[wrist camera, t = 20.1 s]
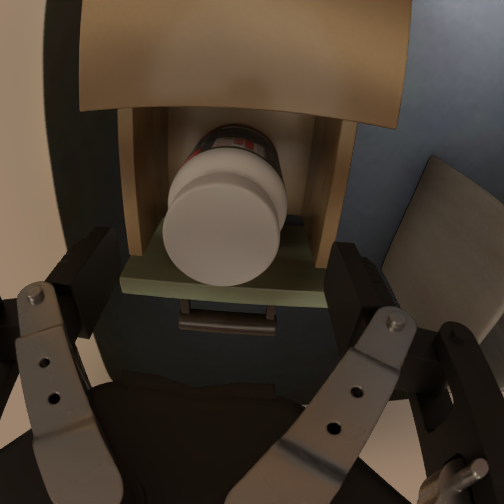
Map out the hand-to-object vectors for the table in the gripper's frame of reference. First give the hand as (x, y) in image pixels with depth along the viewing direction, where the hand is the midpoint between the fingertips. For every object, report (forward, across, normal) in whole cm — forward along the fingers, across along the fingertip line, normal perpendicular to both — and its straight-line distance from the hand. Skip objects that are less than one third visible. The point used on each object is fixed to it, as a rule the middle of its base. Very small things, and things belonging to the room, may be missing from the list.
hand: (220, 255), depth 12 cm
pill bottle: (+11, 0, 0) cm, 11 cm away
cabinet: (+13, 0, -12) cm, 18 cm away
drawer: (+12, 0, +2) cm, 12 cm away
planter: (+13, -17, +7) cm, 22 cm away
